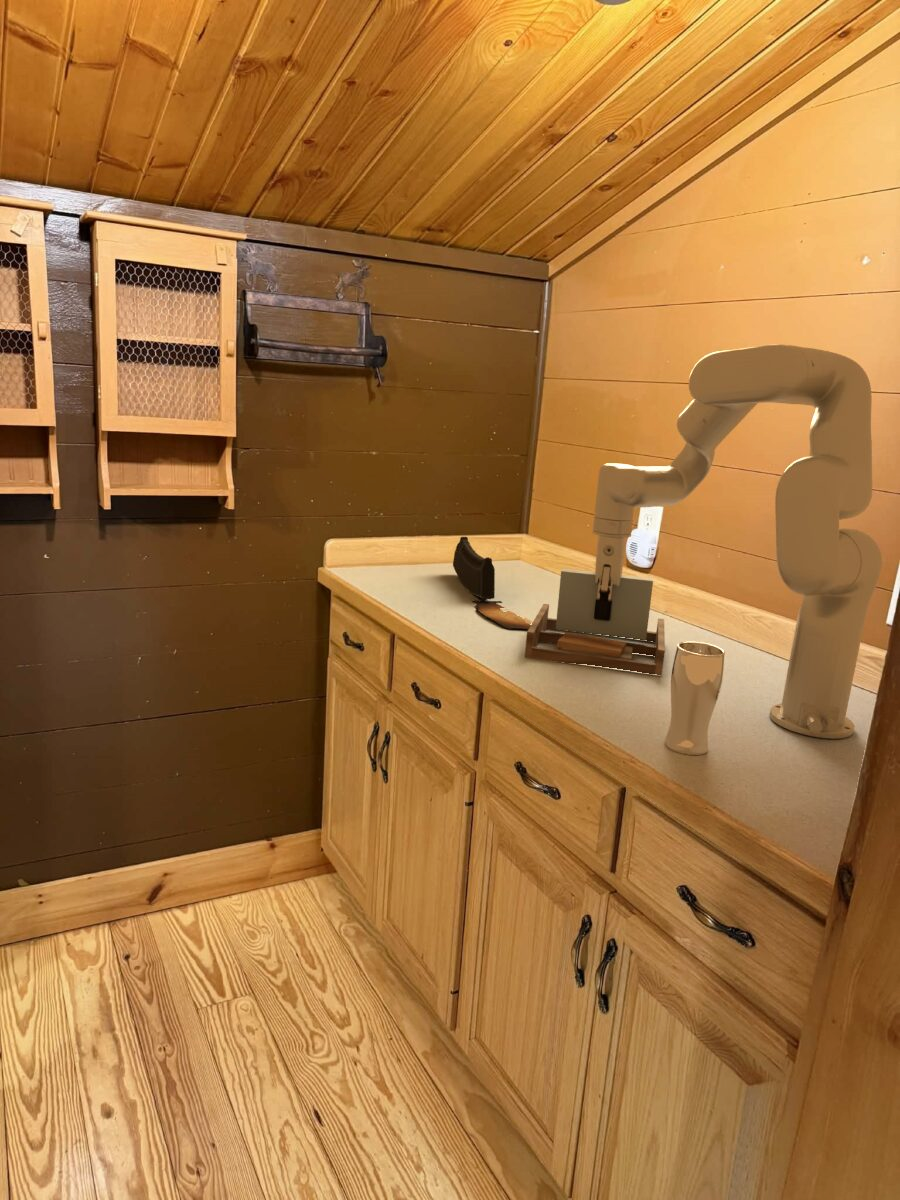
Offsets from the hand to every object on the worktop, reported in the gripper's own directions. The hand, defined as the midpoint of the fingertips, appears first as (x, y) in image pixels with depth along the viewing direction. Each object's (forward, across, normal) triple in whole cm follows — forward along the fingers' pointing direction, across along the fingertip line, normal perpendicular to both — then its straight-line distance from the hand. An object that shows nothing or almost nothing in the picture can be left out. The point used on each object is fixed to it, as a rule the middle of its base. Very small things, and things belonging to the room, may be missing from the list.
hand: (602, 616), depth 169 cm
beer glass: (+7, -48, -16) cm, 51 cm away
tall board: (+3, 0, 0) cm, 3 cm away
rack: (+6, -4, 0) cm, 7 cm away
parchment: (+6, +12, +22) cm, 26 cm away
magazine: (+5, +35, +34) cm, 49 cm away
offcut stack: (+6, -10, 0) cm, 11 cm away
